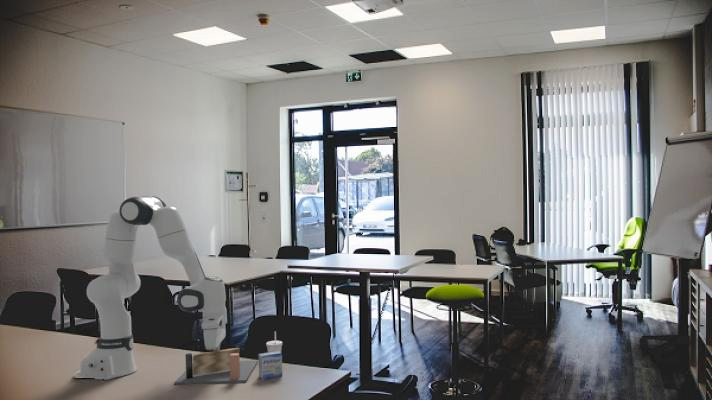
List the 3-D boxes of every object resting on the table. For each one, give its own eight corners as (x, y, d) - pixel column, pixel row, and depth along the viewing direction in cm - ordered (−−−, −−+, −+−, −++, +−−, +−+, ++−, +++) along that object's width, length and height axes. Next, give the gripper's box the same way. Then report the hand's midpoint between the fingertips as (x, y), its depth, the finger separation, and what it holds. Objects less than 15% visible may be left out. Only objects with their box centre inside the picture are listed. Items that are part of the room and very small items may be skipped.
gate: (193, 375, 202) (193, 355, 202) (192, 373, 204) (192, 353, 204) (240, 368, 209) (239, 348, 209) (238, 366, 211) (238, 347, 211)
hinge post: (185, 380, 200) (184, 355, 200) (187, 378, 203) (186, 353, 203) (191, 380, 200) (191, 354, 200) (193, 378, 203) (193, 353, 203)
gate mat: (174, 384, 197) (174, 382, 197) (193, 364, 221) (193, 362, 221) (246, 382, 197) (246, 380, 197) (257, 362, 221) (257, 360, 221)
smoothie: (280, 369, 210) (278, 333, 210) (264, 369, 211) (263, 333, 211) (285, 364, 216) (284, 329, 216) (270, 364, 218) (269, 329, 218)
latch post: (230, 381, 198) (229, 355, 198) (232, 379, 201) (231, 353, 201) (238, 381, 198) (237, 355, 198) (240, 378, 201) (239, 353, 201)
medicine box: (262, 379, 199) (261, 356, 199) (258, 376, 203) (257, 353, 203) (282, 376, 203) (282, 352, 203) (278, 372, 207) (278, 350, 207)
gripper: (212, 314, 218) (214, 348, 218) (200, 325, 198) (202, 363, 198) (228, 313, 219) (230, 347, 218) (217, 324, 198) (219, 362, 198)
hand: (216, 355), depth 208 cm, fingers closed
